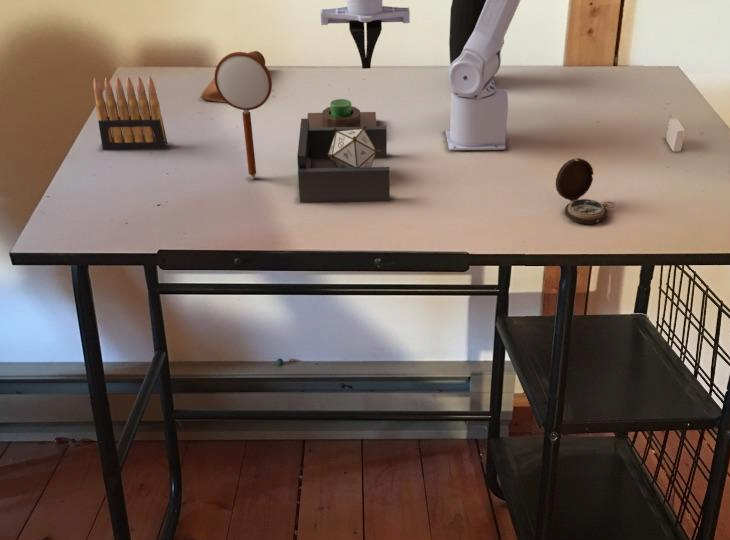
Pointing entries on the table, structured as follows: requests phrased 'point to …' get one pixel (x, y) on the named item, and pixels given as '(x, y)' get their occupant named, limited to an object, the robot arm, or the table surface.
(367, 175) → the cubby
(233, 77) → the magnifying glass
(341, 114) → the button
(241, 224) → the table surface
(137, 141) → the ammunition clip
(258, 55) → the sunglasses case
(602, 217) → the compass
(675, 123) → the eraser
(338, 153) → the game die
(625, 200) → the table surface
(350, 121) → the box
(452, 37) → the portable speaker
